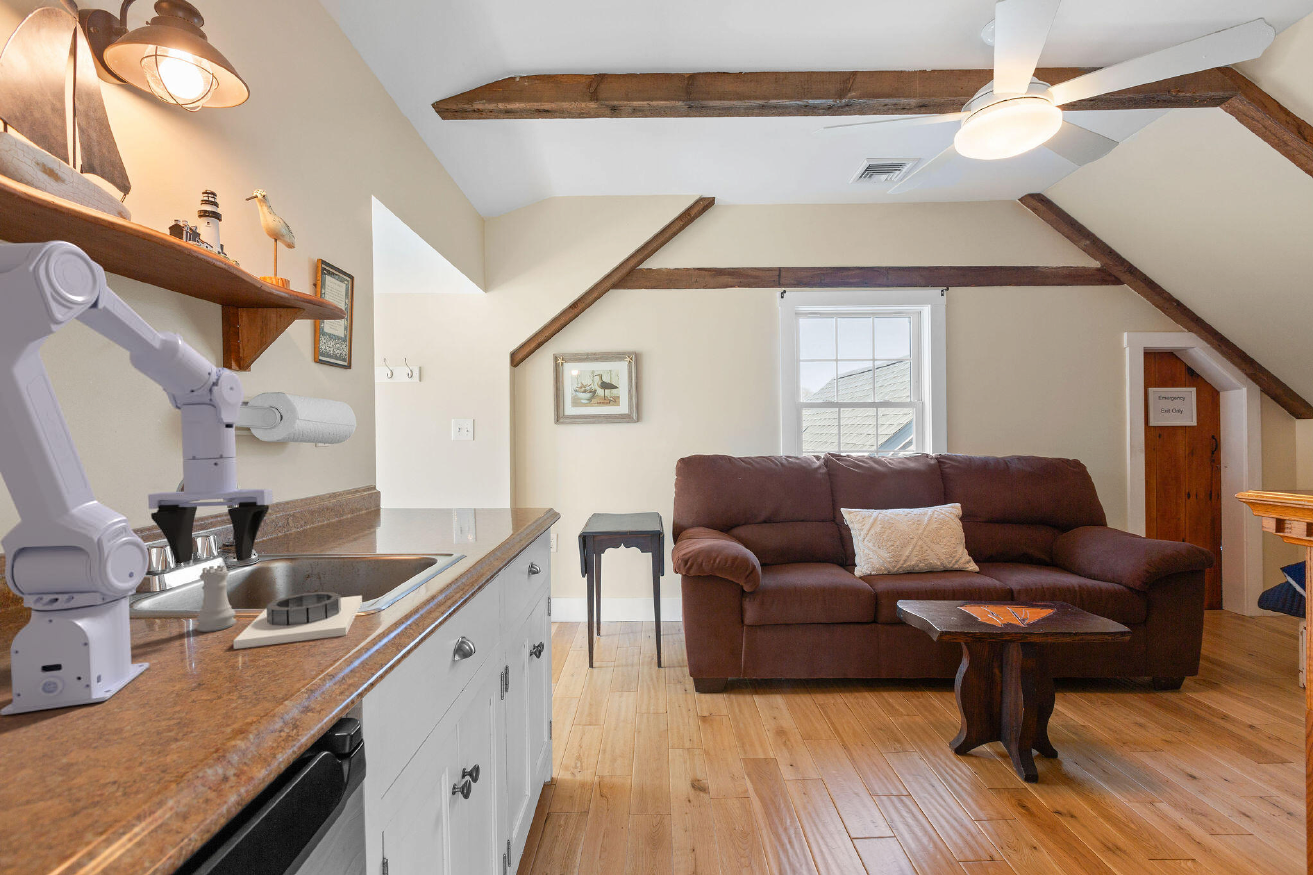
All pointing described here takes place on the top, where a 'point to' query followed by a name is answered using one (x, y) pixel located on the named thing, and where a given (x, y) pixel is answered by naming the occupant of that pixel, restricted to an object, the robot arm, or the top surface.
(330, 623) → the mount plate
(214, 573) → the rook chess piece
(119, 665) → the robot arm
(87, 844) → the top surface
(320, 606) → the segmented grey ring
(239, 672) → the top surface
